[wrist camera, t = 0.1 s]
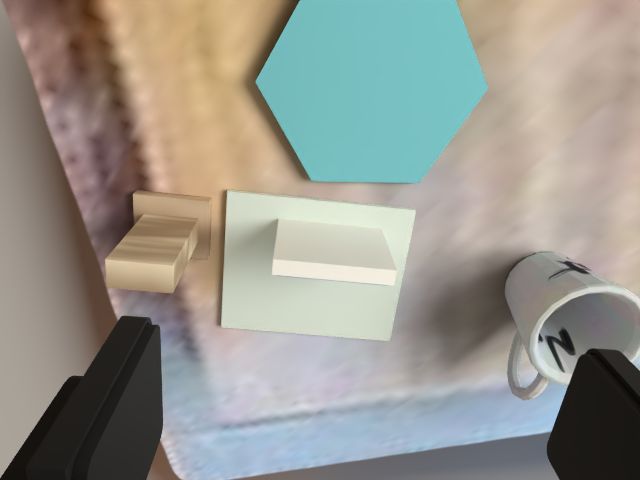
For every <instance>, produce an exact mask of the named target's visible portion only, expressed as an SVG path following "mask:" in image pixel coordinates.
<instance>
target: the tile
mask: <svg viewBox="0 0 640 480" xmlns="http://www.w3.org/2000/svg"><path fill="white" fill-rule="evenodd" d="M396 274H397V269H396V266H395V264H394V261H393V258H392V255H391V253H390V250H389V247H388V244H387V242H386V239H385V236H384V234H383V231H382V229H381V228H370V227H360V226H350V225H340V224H330V223H319V222H309V221H299V220H289V219H279V220H278V228H277V235H276V242H275V249H274V256H273V266H272V275H277V276H286V277H297V278H308V279H319V280H330V281H341V282H352V283H363V284H374V285H385V286H388V285H391V286H394V284H395V279H396Z"/></svg>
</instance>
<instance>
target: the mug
mask: <svg viewBox="0 0 640 480" xmlns="http://www.w3.org/2000/svg"><path fill="white" fill-rule="evenodd" d="M505 296H506V300H507V303H508V306H509V308H510V311H511V313H512V316H513V318H514V321H515V323H516V326H517V328H518V330H517V332H516V334H515V337H514V340H513V343H512V346H511V350H510V354H509V360H508V371H507V374H508V383H509V386H510V388H511V391H512V393H513V394H514V395H515V396H517V397H519V398H521V399H522V400H529V399H534V398H536V397H537V396H538V395H539V394H541V393H542V391H543V390H544V389H545V388H546V386H547V384H548V383H549V381H550V380H551V381H553V382H554V383H557V384H562V385H567V386H568V385H569V382H570V380H571V377H572V374H573V371H574V369H575V366H576V363H577V360H578V358H579V357H580V356H581V355H582V354H585V353H586V352H587V351H588V350H589V349H591V348H597V349H612V350H618V351H620V352H621V353H623V354H624V355H625V356H626V357H627V358H628V360H629V361H630V362H631V363H632V362H633V361H634V360H635V359H636V358H637V357H638V355H639V353H640V299H639V298H638V296H636V295H635V294H633V293H631V292H630V291H628V290H627V289H625V288H624V287H622V286H620V285H618V284H616V283H614V282H613V281H611V280H609V279H607V278H605V277H603V276H601V275H600V274H598V273H596V272H594V271H592V270H590V269H588V268H587V267H585V266H583V265H581V264H579V263H577V262H575V261H574V260H572V259H570V258H568V257H566V256H564V255H562V254H558V253H554V252H544V253H537V254H534V255H531V256H528V257H526V258H525V259H524V260H522V261H521V262H519V263H518V264H517V265H516V266H515V267H514V268H513V269H512V271H511V272H510V274H509V276H508V278H507V280H506V284H505ZM523 346H525V349H526V351H527V354H528V356H529V359H530V361H531V363H532V365H533V366H534V367H535V368H536V370H537V371H538V372H539V373H538V375H537V377H536V378H535V380H534V381H533V383H532V384H531V385H530V386H528V387H527V388H523V387H522V385H521V383H520V377H519V365H520V359H521V354H522V350H523Z"/></svg>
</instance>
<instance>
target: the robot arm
mask: <svg viewBox="0 0 640 480" xmlns="http://www.w3.org/2000/svg"><path fill="white" fill-rule="evenodd" d="M162 428H163V406H162V374H161V341H160V327H159V325H152V322H151V319H150V318H149V317H134V316H122V317H121V318H120V319H119V321H118V322H117V324H116V325H115V327H114V329H113V330H112V332H111V333H110V335H109V337H108V338H107V340H106V341H105V343H104V344H103V346H102V347H101V349H100V351H99V352H98V354H97V356H96V357H95V359H94V360H93V362H92V363H91V365H90V367H89V368H88V370H87V371H86V373H85V374H84V376H72V377H69V379H67V381H66V382H65V383H64V384H63V386H62V388H61V389H60V391H59V392H58V393H57V395H56V396H55V398H54V399H53V401H52V402H51V404H50V405H49V407H48V408H47V410H46V411H45V413H44V414H43V416H42V417H41V419H40V420H39V422H38V423H37V425H36V426H35V428H34V429H33V431H32V432H31V433H30V435H29V436H28V438H27V439H26V441H25V442H24V444H23V445H22V447H21V448H20V450H19V451H18V453H17V454H16V456H15V457H14V459H13V460H12V462H11V463H10V465H9V466H8V468H7V469H6V471H5V472H4V474H3V475H2V476H1V478H0V480H146V479H147V476H148V473H149V470H150V467H151V464H152V462H153V459H154V456H155V453H156V450H157V447H158V444H159V442H160V438H161V434H162ZM547 455H548V459H549V461H550V463H551V465H552V467H553V468H554V470H555V472H556V474H557V475H558V477H559V479H560V480H640V371H639V370H638V369H637V368H636V367H635V366H634V365H633V364H632V363H631V362H630V361H629V360H628V358H627V357H626V356H625V355H624V354H623V353H621V352H620V351H618V350H612V349H597V348H591V349H589V350H588V351H587V352H586V353H585V354H582V355H581V356H580V357H579V358H578V360H577V363H576V366H575V369H574V371H573V374H572V377H571V380H570V382H569V385H568V388H567V391H566V393H565V396H564V399H563V402H562V405H561V407H560V410H559V413H558V416H557V418H556V421H555V424H554V427H553V429H552V432H551V435H550V438H549V441H548V444H547Z"/></svg>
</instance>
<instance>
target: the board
mask: <svg viewBox="0 0 640 480" xmlns="http://www.w3.org/2000/svg"><path fill="white" fill-rule="evenodd" d="M415 214H416V209H415V208H407V207H397V206H387V205H377V204H367V203H358V202H348V201H338V200H328V199H318V198H308V197H298V196H289V195H279V194H269V193H259V192H249V191H239V190H229V189H228V191H227V206H226V229H225V251H224V274H223V297H222V319H221V327H225V328H237V329H249V330H261V331H273V332H286V333H298V334H310V335H322V336H334V337H346V338H358V339H371V340H383V341H390V337H391V333H392V328H393V323H394V318H395V313H396V308H397V303H398V298H399V293H400V288H401V283H402V278H403V273H404V268H405V263H406V258H407V254H408V249H409V244H410V239H411V234H412V229H413V224H414V219H415ZM279 219H289V220H299V221H309V222H319V223H330V224H340V225H350V226H360V227H370V228H381V229H382V231H383V234H384V236H385V239H386V242H387V244H388V247H389V250H390V253H391V255H392V258H393V261H394V264H395V266H396V269H397V274H396V279H395V284H394V286H391V285H388V286H385V285H374V284H363V283H352V282H341V281H330V280H319V279H308V278H297V277H286V276H277V275H272V266H273V256H274V249H275V242H276V235H277V228H278V220H279Z"/></svg>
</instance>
